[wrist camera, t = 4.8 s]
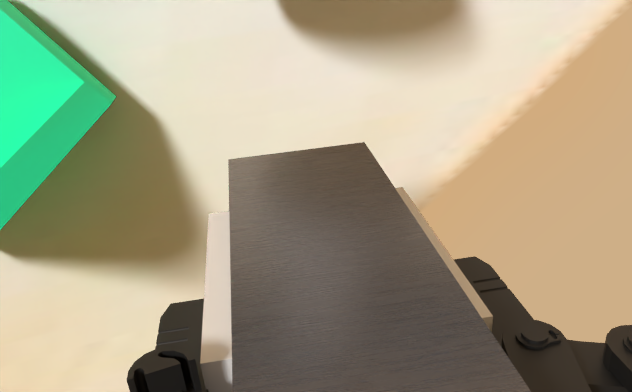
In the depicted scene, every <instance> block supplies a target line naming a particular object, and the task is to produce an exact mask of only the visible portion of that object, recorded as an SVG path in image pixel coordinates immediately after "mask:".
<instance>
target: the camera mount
mask: <svg viewBox="0 0 632 392" xmlns="http://www.w3.org/2000/svg"><path fill="white" fill-rule="evenodd" d="M115 98H116V96H115V95H114V94H113V93H112V92H111V91H110V90H108V89H107V88H106V87H105V86H104V85H103V84H102V83H101V82H99V81H98V80H97V79H96V78H95V77H94V76H93V75H91V74H90V73H89V72H88V71H87V70H86V69H85V68H84V67H82V66H81V65H80V64H79V63H78V62H77V61H76V60H74V59H73V58H72V57H71V56H70V55H69V54H68V53H67V52H65V51H64V50H63V49H62V48H61V47H60V46H59V45H57V44H56V43H55V42H54V41H53V40H52V39H51V38H50V37H48V36H47V35H46V34H45V33H44V32H43V31H42V30H40V29H39V28H38V27H37V26H36V25H35V24H34V23H33V22H31V21H30V20H29V19H28V18H27V17H26V16H25V15H23V14H22V13H21V12H20V11H19V10H18V9H17V8H16V7H14V6H13V5H12V4H11V3H10V2H9V1H8V0H0V230H1V229H2V228H3V226H4V225H5V224H6V223H7V222H8V221H9V220H10V219H11V217H12V216H13V215H14V214H15V213H16V212H17V211H18V209H19V208H20V207H21V206H22V205H23V204H24V203H25V201H26V200H27V199H28V198H29V197H30V196H31V195H32V194H33V192H34V191H35V190H36V189H37V188H38V187H39V186H40V184H41V183H42V182H43V181H44V180H45V179H46V178H47V177H48V175H49V174H50V173H51V172H52V171H53V170H54V169H55V167H56V166H57V165H58V164H59V163H60V162H61V161H62V160H63V158H64V157H65V156H66V155H67V154H68V153H69V152H70V150H71V149H72V148H73V147H74V146H75V145H76V144H77V142H78V141H79V140H80V139H81V138H82V137H83V136H84V135H85V133H86V132H87V131H88V130H89V129H90V128H91V127H92V125H93V124H94V123H95V122H96V121H97V120H98V119H99V118H100V116H101V115H102V114H103V113H104V112H105V111H106V110H107V108H108V107H109V106H110V105H111V104H112V102H113V101H114V99H115Z"/></svg>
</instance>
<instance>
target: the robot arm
mask: <svg viewBox="0 0 632 392" xmlns="http://www.w3.org/2000/svg"><path fill="white" fill-rule="evenodd" d="M395 189H396V190H397V192H398V193H399V195H400V196H401V198H402V199H403V201H404V202H405V204H406V205H407V207H408V208H409V210H410V211H411V213H412V214H413V216H414V217H415V219H416V220H417V222H418V223H419V225H420V226H421V228H422V229H423V231H424V232H425V234H426V235H427V237H428V238H429V240H430V241H431V243H432V244H433V246H434V247H435V249H436V250H437V252H438V253H439V255H440V256H441V258H442V259H443V261H444V262H445V264H446V265H447V267H448V268H449V270H450V271H451V273H452V274H453V276H454V277H455V279H456V280H457V282H458V283H459V285H460V286H461V288H462V289H463V291H464V292H465V294H466V295H467V297H468V298H469V300H470V301H471V303H472V304H473V306H474V307H475V309H476V310H477V312H478V313H479V315H480V316H481V317H482V319H483V320H484V322H485V323H486V325H487V326H488V328H489V329H490V331H491V332H492V334H493V335H494V337H495V338H496V340H497V341H498V343H499V344H500V346H501V347H502V349H503V350H504V352H505V353H506V355H507V356H508V358H509V359H510V361H511V362H512V364H513V365H514V367H515V368H516V370H517V371H518V373H519V374H520V376H521V377H522V379H523V380H524V382H525V383H526V385H527V386H528V388H529V389H530V391H531V392H632V325H624V326H619V327H616V328H613V329H611V330H610V332H609V333H608V334H607V337H606V341H605V343H594V342H580V341H572V340H567V339H566V338H565V337H564V335H563V334H562V333H561V332H560V331H559V330H558V329H556V328H555V327H553V326H552V325H550V324H547V323H544V322H541V321H537V320H533V318H532V317H531V316H530V314H529V313H528V312H527V311H526V309H525V308H524V307H523V306H522V304H521V303H520V302H519V301H518V299H517V298H516V297H515V296H514V294H513V293H512V292H511V291H510V289H508V288H507V286H506V284H505V283H504V282H503V281H502V280H500V277H499V276H498V274H497V273H496V272H495V271H494V270H493V268H492V267H491V266H490V265H489V264H487V263H485V262H483V261H482V260H480V259H478V258H477V257H469V258H462V259H455V260H453V259H452V257H451V256H450V254H449V253H448V252H447V250H446V248H445V247H444V246H443V244H442V243H441V242H440V240H439V239H438V237H437V236H436V235H435V233H434V231H433V230H432V229H431V227H430V226H429V224H428V223H427V222H426V220H425V219H424V217H423V216H422V214H421V213H420V211H419V210H418V209H417V207H416V206H415V204H414V203H413V201H412V200H411V199H410V197H409V196H408V194H407V193H406V191H405V190H404V189H403V187H401V188H395ZM158 333H159V334H158V336H157V342H156V344H157V346H156V348H155V350H153V351H151V352H149V353H146V354H144V355H143V356H142V357H141V358H139V359H138V360H137V361H135V362H134V364H133V365H132V367H131V368H130V370H129V371H128V377H127V383H128V386H129V389H130V392H232V334H231V276H230V217H229V211H224V212H217V213H210V214H209V219H208V236H207V254H206V271H205V289H204V299H199V300H192V301H186V302H179V303H173V304H170V306H169V307H168V308H167V310H166V311H165V312H164V314H163V315H162V316H161V318H160V324H159V330H158Z"/></svg>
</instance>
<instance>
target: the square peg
mask: <svg viewBox="0 0 632 392" xmlns="http://www.w3.org/2000/svg"><path fill="white" fill-rule="evenodd" d="M229 217H230V276H231V334H232V392H531V391H530V389H529V388H528V386H527V385H526V383H525V382H524V380H523V379H522V377H521V376H520V374H519V373H518V371H517V370H516V368H515V367H514V365H513V364H512V362H511V361H510V359H509V358H508V356H507V355H506V353H505V352H504V350H503V349H502V347H501V346H500V344H499V343H498V341H497V340H496V338H495V337H494V335H493V334H492V332H491V331H490V329H489V328H488V326H487V325H486V323H485V322H484V320H483V319H482V317H481V316H480V315H479V313H478V312H477V310H476V309H475V307H474V306H473V304H472V303H471V301H470V300H469V298H468V297H467V295H466V294H465V292H464V291H463V289H462V288H461V286H460V285H459V283H458V282H457V280H456V279H455V277H454V276H453V274H452V273H451V271H450V270H449V268H448V267H447V265H446V264H445V262H444V261H443V259H442V258H441V256H440V255H439V253H438V252H437V250H436V249H435V247H434V246H433V244H432V243H431V241H430V240H429V238H428V237H427V235H426V234H425V232H424V231H423V229H422V228H421V226H420V225H419V223H418V222H417V220H416V219H415V217H414V216H413V214H412V213H411V211H410V210H409V208H408V207H407V205H406V204H405V202H404V201H403V199H402V198H401V196H400V195H399V193H398V192H397V190H396V189H395V187H394V186H393V184H392V183H391V182H390V180H389V179H388V177H387V176H386V174H385V173H384V171H383V170H382V168H381V167H380V165H379V164H378V162H377V161H376V159H375V158H374V156H373V155H372V153H371V152H370V150H369V149H368V147H367V146H366V144H365V143H364V142H363V143H355V144H347V145H339V146H332V147H324V148H316V149H308V150H300V151H292V152H284V153H277V154H269V155H261V156H253V157H245V158H237V159H229Z"/></svg>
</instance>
